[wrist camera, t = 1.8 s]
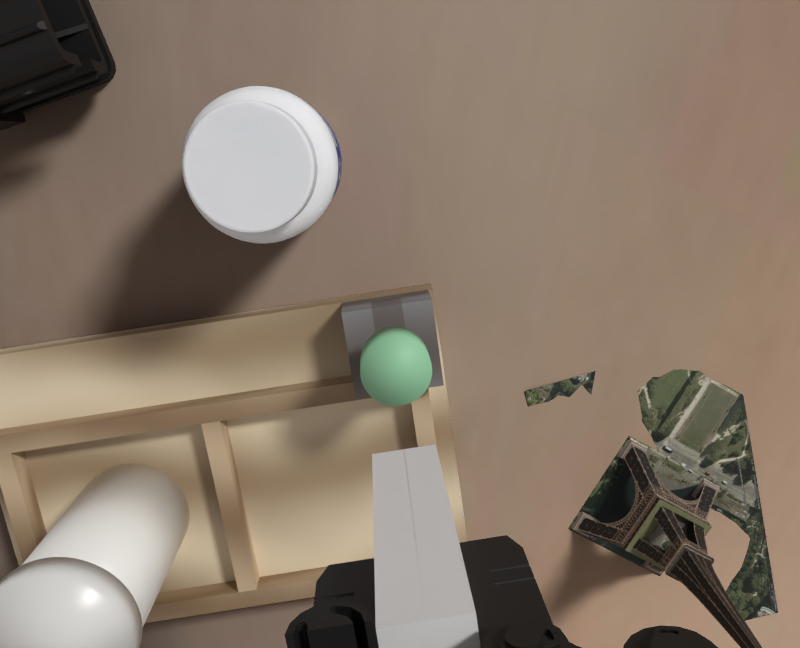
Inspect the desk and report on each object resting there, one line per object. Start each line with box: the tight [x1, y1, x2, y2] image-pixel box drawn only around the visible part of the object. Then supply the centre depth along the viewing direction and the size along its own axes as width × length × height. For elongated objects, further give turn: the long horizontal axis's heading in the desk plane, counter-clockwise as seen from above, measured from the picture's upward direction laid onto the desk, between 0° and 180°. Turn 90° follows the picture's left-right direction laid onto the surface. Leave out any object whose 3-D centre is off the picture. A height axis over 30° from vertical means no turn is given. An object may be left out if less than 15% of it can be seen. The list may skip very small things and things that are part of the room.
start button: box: [360, 327, 432, 406], centre depth 29 cm, size 3×3×4 cm
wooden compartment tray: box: [0, 284, 467, 623], centre depth 33 cm, size 13×20×3 cm, turn 98°
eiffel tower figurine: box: [525, 369, 778, 648], centre depth 30 cm, size 15×10×13 cm
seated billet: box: [0, 463, 190, 648], centre depth 29 cm, size 5×5×9 cm
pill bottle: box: [182, 86, 342, 243], centre depth 27 cm, size 5×5×9 cm
